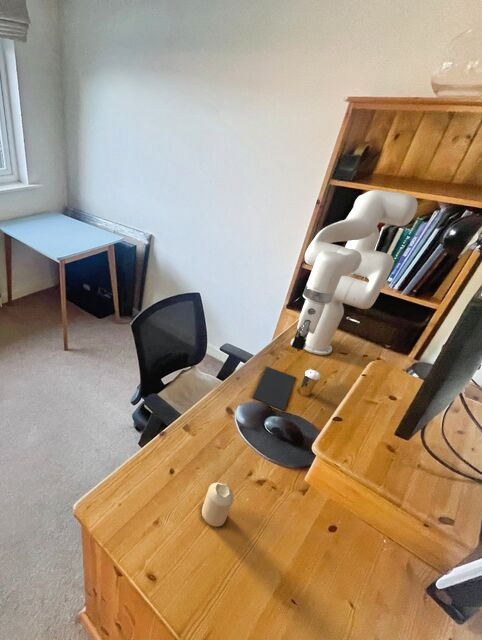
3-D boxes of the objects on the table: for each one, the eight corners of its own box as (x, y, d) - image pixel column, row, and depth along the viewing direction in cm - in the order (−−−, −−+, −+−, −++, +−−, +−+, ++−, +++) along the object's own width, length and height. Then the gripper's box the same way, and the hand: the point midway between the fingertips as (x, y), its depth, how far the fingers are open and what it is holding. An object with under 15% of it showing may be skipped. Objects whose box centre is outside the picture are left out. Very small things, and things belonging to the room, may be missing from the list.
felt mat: (266, 367, 130) (266, 366, 130) (294, 378, 125) (295, 377, 125) (252, 397, 116) (252, 397, 116) (283, 411, 111) (284, 410, 111)
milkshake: (307, 387, 121) (318, 364, 116) (314, 397, 117) (324, 375, 112) (294, 385, 122) (304, 363, 116) (300, 396, 117) (310, 373, 112)
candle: (212, 531, 78) (221, 506, 73) (196, 509, 82) (204, 484, 77) (230, 520, 81) (240, 495, 75) (214, 499, 85) (222, 474, 79)
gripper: (329, 309, 94) (307, 361, 103) (334, 287, 106) (314, 336, 116) (300, 301, 97) (280, 353, 107) (308, 280, 109) (290, 329, 119)
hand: (298, 343), depth 111 cm, fingers closed on rook chess piece, 4 cm apart
